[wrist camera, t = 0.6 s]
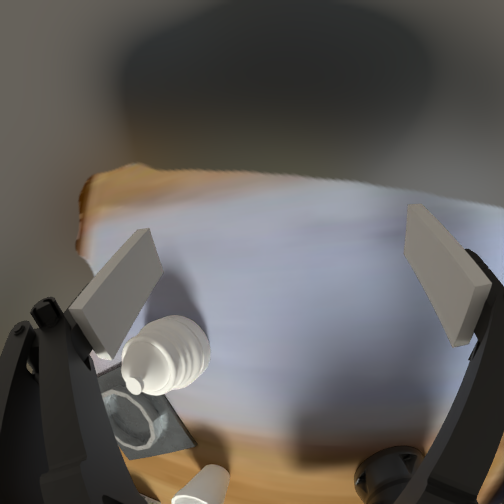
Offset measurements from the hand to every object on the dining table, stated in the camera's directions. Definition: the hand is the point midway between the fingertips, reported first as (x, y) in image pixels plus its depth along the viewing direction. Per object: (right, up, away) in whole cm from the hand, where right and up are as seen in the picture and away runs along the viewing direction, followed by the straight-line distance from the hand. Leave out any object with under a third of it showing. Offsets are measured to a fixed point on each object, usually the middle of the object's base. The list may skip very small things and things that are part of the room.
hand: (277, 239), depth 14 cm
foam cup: (-9, -49, +35) cm, 61 cm away
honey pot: (-15, -19, +38) cm, 45 cm away
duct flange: (-27, -36, +40) cm, 60 cm away
